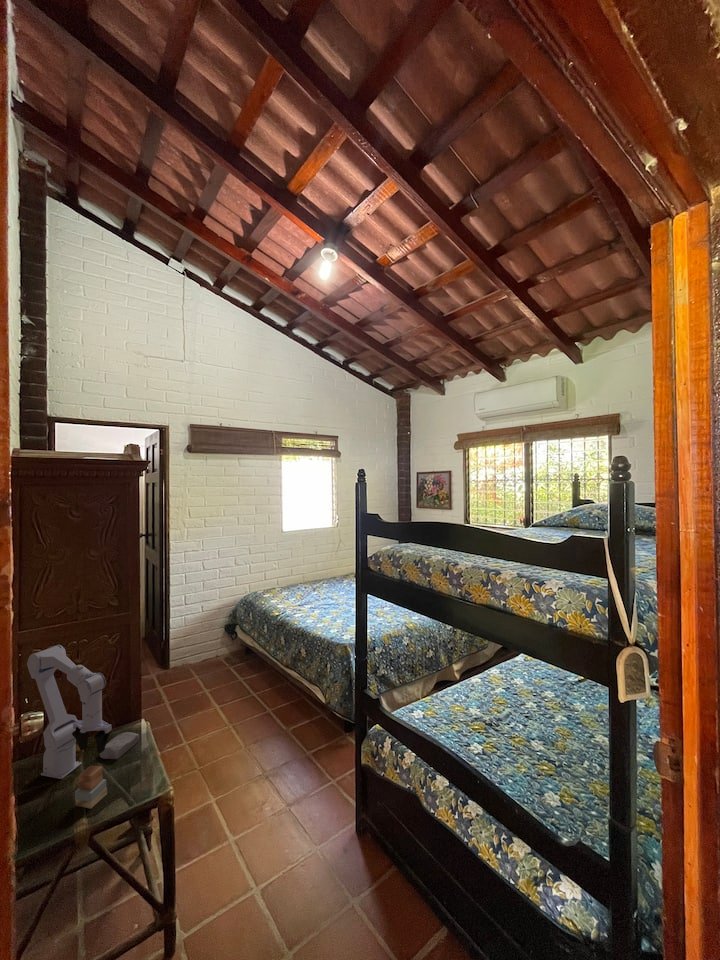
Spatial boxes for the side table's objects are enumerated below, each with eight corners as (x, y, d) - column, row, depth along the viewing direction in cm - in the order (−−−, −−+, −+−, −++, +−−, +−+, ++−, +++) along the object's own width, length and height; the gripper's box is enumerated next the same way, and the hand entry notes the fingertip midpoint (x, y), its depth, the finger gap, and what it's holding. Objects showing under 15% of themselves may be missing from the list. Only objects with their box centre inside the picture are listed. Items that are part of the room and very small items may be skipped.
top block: (74, 799, 125) (74, 791, 125) (90, 785, 131) (90, 777, 131) (91, 801, 124) (91, 793, 124) (106, 787, 130) (106, 779, 130)
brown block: (75, 806, 125) (75, 798, 125) (92, 792, 131) (92, 784, 131) (91, 809, 124) (91, 801, 124) (107, 794, 130) (107, 787, 130)
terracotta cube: (79, 789, 126) (79, 775, 126) (90, 779, 130) (90, 765, 130) (91, 790, 125) (91, 776, 125) (102, 780, 130) (102, 766, 130)
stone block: (96, 763, 147) (118, 760, 146) (94, 749, 148) (116, 747, 146) (121, 743, 159) (142, 741, 157) (119, 731, 160) (140, 729, 158)
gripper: (64, 715, 134) (64, 755, 134) (99, 720, 131) (99, 760, 131) (83, 704, 141) (83, 742, 141) (116, 708, 138) (116, 747, 138)
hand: (92, 750), depth 136 cm, fingers open, 7 cm apart
